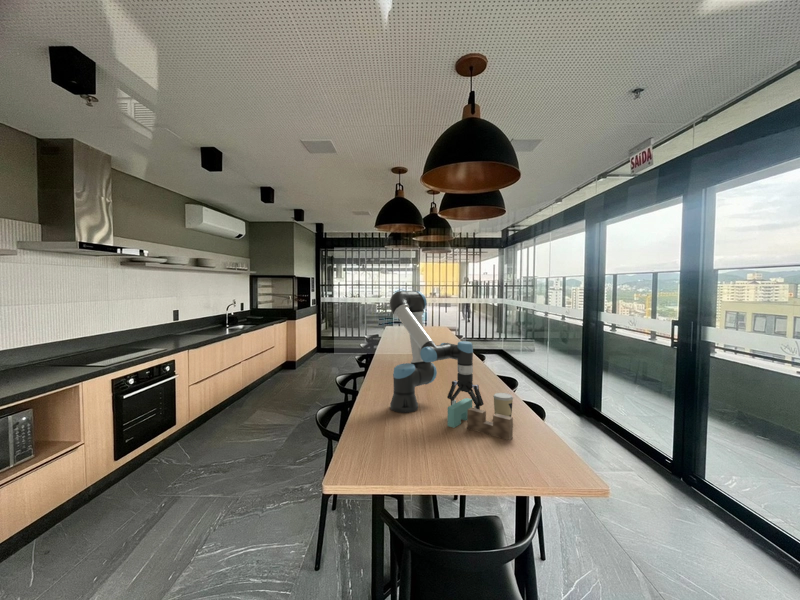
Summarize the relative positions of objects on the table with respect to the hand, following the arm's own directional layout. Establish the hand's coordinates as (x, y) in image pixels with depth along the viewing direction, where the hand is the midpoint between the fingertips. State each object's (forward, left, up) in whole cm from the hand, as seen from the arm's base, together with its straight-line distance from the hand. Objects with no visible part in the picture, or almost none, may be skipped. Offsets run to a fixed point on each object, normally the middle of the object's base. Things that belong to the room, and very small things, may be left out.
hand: (464, 416), depth 170 cm
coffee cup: (+15, +12, -1) cm, 19 cm away
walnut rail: (+17, -8, -1) cm, 19 cm away
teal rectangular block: (0, -4, -1) cm, 5 cm away
